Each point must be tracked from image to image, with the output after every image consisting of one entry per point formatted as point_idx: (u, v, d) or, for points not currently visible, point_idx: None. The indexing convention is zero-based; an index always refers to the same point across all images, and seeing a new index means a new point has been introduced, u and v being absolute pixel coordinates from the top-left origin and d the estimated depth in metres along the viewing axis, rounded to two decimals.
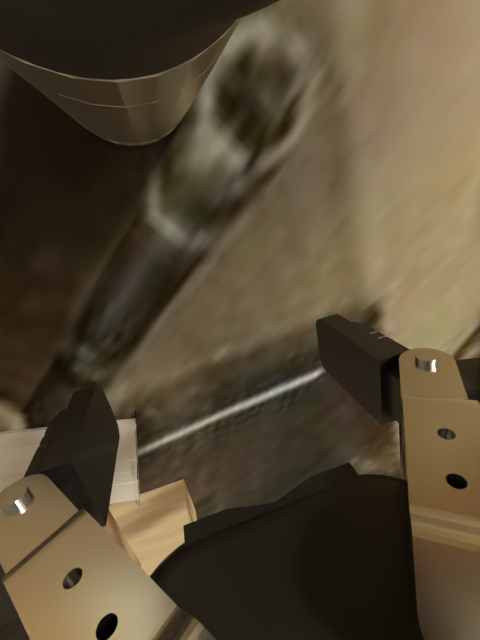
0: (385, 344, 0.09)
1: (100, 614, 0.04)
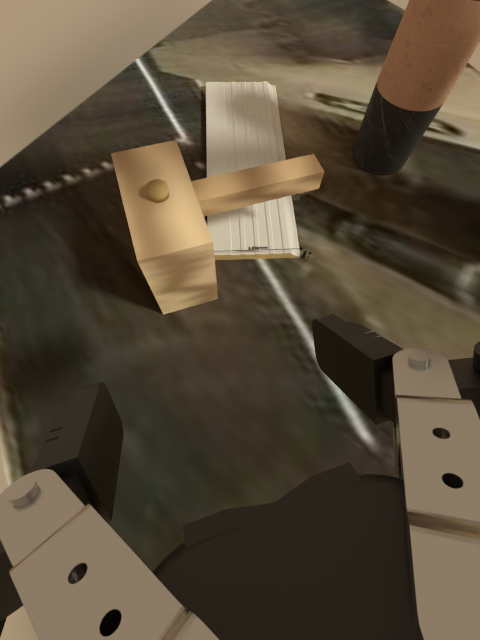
0: (379, 344, 0.09)
1: (104, 609, 0.04)
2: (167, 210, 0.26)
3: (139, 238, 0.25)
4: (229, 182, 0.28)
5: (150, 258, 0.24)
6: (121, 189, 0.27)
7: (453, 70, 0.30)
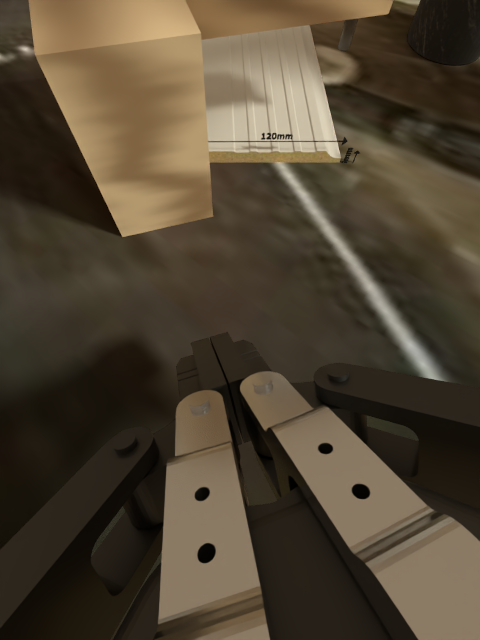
0: (244, 366, 0.09)
1: (207, 538, 0.04)
2: None
3: (47, 22, 0.12)
4: None
5: (64, 54, 0.11)
6: None
7: None
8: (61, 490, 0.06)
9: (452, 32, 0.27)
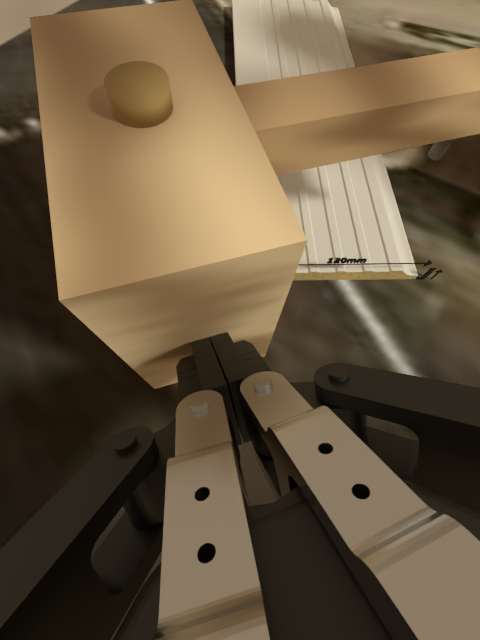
0: (244, 366, 0.09)
1: (207, 538, 0.04)
2: (167, 148, 0.09)
3: (75, 224, 0.08)
4: (325, 93, 0.11)
5: (104, 291, 0.07)
6: (42, 93, 0.10)
7: None
8: (61, 490, 0.06)
9: None
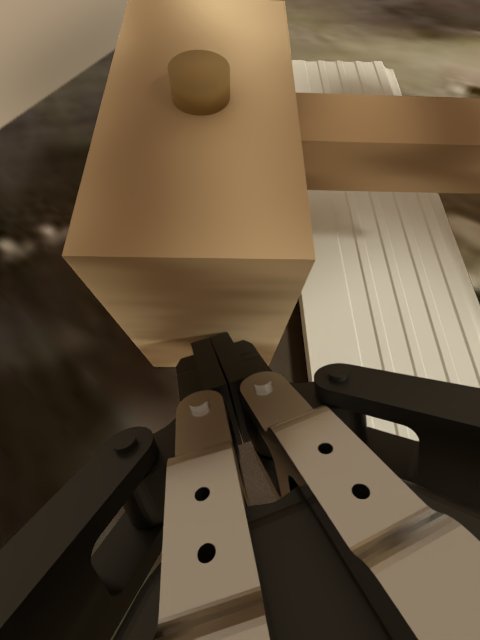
0: (244, 366, 0.09)
1: (206, 538, 0.04)
2: (209, 139, 0.09)
3: (101, 189, 0.08)
4: (391, 117, 0.11)
5: (104, 258, 0.08)
6: (115, 64, 0.10)
7: None
8: (61, 490, 0.06)
9: None
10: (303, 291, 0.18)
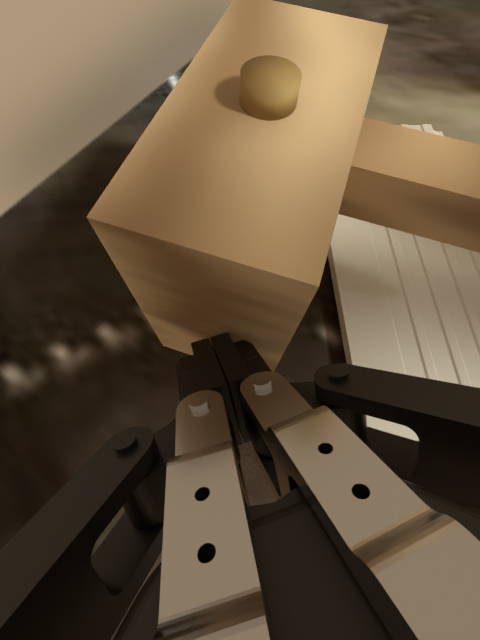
0: (244, 366, 0.09)
1: (206, 538, 0.04)
2: (260, 143, 0.09)
3: (142, 167, 0.09)
4: (460, 164, 0.10)
5: (122, 229, 0.08)
6: (199, 55, 0.11)
7: None
8: (61, 490, 0.06)
9: None
10: None
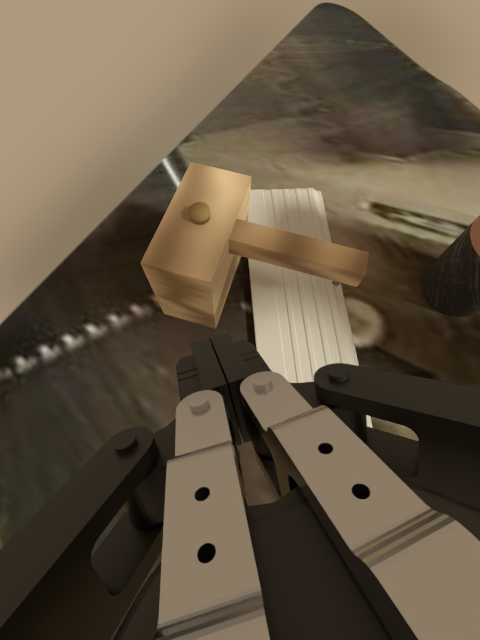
0: (244, 366, 0.09)
1: (207, 538, 0.04)
2: (196, 234, 0.27)
3: (156, 244, 0.26)
4: (269, 237, 0.28)
5: (151, 266, 0.26)
6: (175, 196, 0.29)
7: None
8: (61, 490, 0.06)
9: (459, 306, 0.34)
10: (258, 351, 0.32)
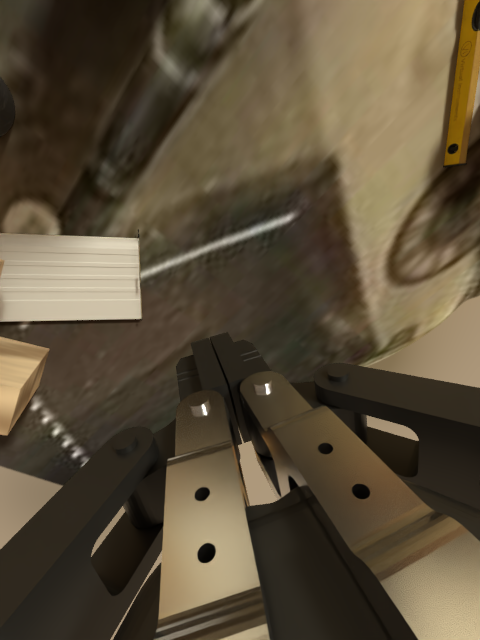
0: (244, 366, 0.09)
1: (206, 538, 0.04)
2: None
3: None
4: None
5: (9, 427, 0.34)
6: None
7: None
8: (61, 490, 0.06)
9: (4, 119, 0.31)
10: (69, 319, 0.41)
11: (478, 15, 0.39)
